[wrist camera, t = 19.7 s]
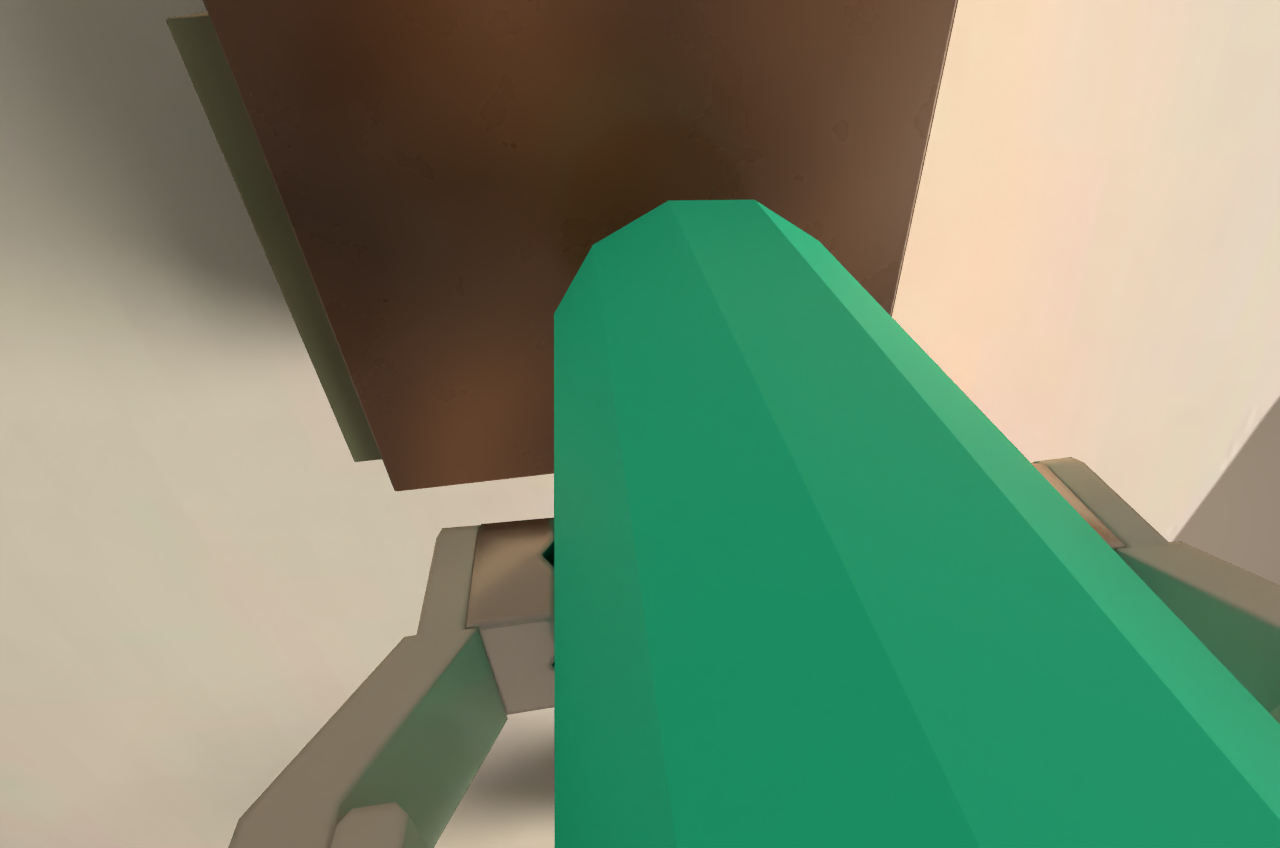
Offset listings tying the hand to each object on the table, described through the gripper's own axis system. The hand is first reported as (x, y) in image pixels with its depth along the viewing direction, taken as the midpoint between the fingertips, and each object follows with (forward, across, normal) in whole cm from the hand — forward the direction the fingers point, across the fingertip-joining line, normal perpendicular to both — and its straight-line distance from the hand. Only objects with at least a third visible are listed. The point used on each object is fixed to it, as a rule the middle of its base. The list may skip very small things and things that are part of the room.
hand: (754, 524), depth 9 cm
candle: (+5, 0, 0) cm, 5 cm away
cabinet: (+17, +1, 0) cm, 17 cm away
